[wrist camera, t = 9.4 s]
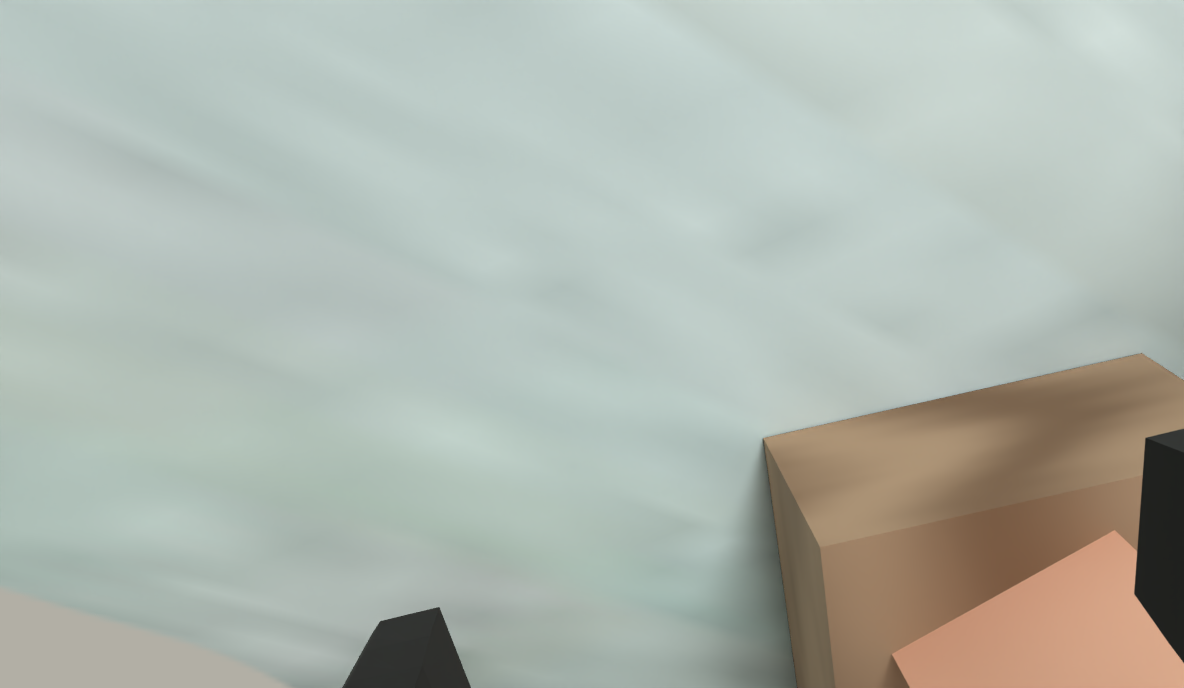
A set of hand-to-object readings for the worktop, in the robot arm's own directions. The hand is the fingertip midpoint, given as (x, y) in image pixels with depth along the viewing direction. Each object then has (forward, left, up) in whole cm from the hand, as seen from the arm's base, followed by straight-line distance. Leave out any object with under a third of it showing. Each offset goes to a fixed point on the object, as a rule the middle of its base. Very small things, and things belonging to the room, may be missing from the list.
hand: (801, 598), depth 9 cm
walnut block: (-6, +9, -10) cm, 15 cm away
